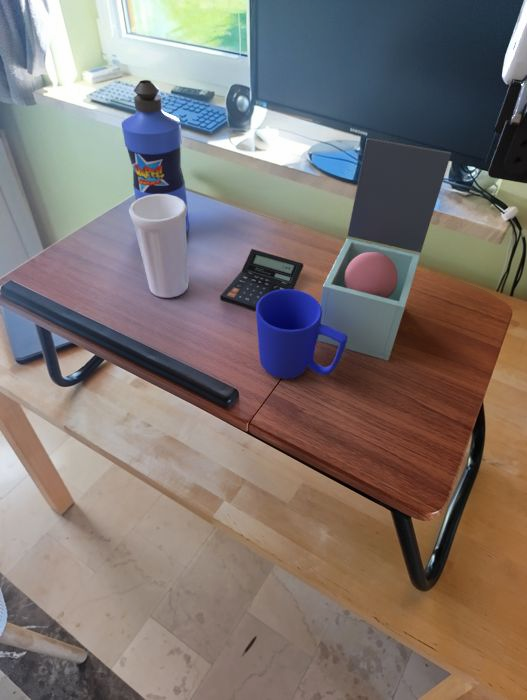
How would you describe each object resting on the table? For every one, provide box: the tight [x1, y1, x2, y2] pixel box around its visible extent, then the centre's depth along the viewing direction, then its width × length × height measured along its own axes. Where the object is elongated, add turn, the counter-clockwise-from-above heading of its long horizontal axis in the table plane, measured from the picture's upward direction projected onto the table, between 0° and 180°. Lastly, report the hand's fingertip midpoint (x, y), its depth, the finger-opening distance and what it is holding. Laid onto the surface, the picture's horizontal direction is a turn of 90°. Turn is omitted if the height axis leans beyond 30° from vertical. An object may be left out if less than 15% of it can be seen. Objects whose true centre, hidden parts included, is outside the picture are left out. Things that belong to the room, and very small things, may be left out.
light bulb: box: [344, 252, 398, 299], centre depth 67 cm, size 7×7×12 cm
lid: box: [346, 137, 452, 253], centre depth 67 cm, size 14×11×5 cm
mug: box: [255, 289, 348, 380], centre depth 62 cm, size 8×12×10 cm
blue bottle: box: [121, 79, 190, 233], centre depth 81 cm, size 9×9×25 cm
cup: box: [128, 194, 189, 299], centre depth 72 cm, size 8×8×14 cm
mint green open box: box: [317, 237, 421, 361], centre depth 69 cm, size 13×11×10 cm
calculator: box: [219, 248, 304, 312], centre depth 77 cm, size 9×12×3 cm
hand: (510, 154), depth 39 cm, fingers open, 9 cm apart
